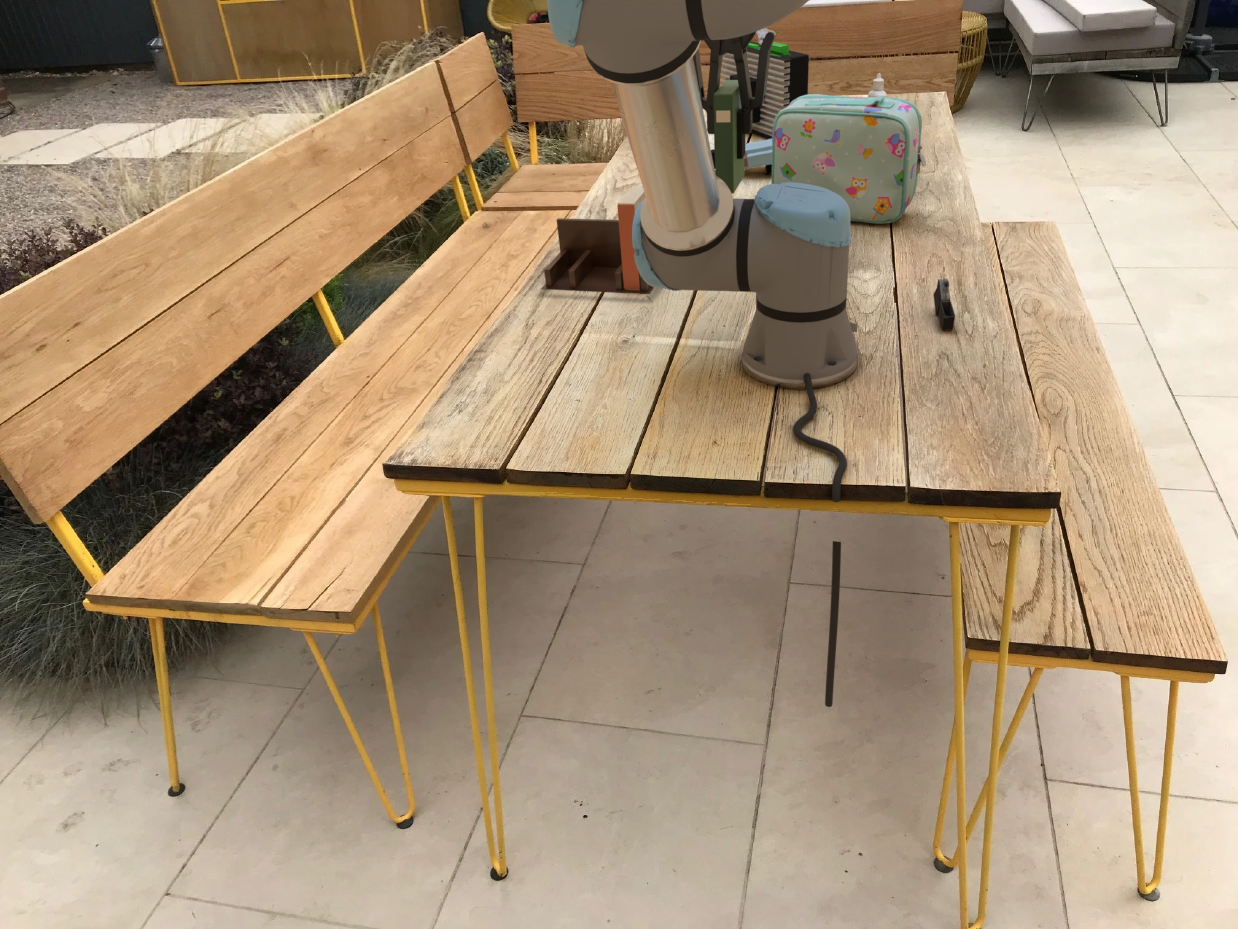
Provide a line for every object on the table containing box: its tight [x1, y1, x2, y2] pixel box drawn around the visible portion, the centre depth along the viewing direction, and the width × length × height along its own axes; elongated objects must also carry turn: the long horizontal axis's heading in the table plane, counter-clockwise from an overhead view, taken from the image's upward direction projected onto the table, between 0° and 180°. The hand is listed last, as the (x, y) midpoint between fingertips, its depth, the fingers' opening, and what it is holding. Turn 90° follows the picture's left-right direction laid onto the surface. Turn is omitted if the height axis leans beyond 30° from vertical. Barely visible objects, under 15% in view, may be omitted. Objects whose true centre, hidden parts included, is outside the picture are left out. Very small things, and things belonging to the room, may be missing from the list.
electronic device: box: [719, 40, 810, 140], centre depth 224 cm, size 28×11×20 cm, turn 25°
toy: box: [711, 139, 772, 175], centre depth 200 cm, size 10×8×30 cm
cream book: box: [616, 185, 646, 290], centre depth 151 cm, size 9×3×14 cm, turn 163°
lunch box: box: [771, 93, 927, 224], centre depth 170 cm, size 27×10×21 cm, turn 59°
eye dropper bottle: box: [867, 72, 888, 97], centre depth 220 cm, size 4×6×12 cm
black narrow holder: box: [932, 278, 956, 331], centre depth 135 cm, size 8×2×5 cm
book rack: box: [540, 217, 655, 295], centre depth 154 cm, size 11×18×9 cm, turn 73°
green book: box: [713, 80, 745, 195], centre depth 139 cm, size 9×3×14 cm, turn 163°
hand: (730, 155), depth 140 cm, fingers closed on green book, 3 cm apart
